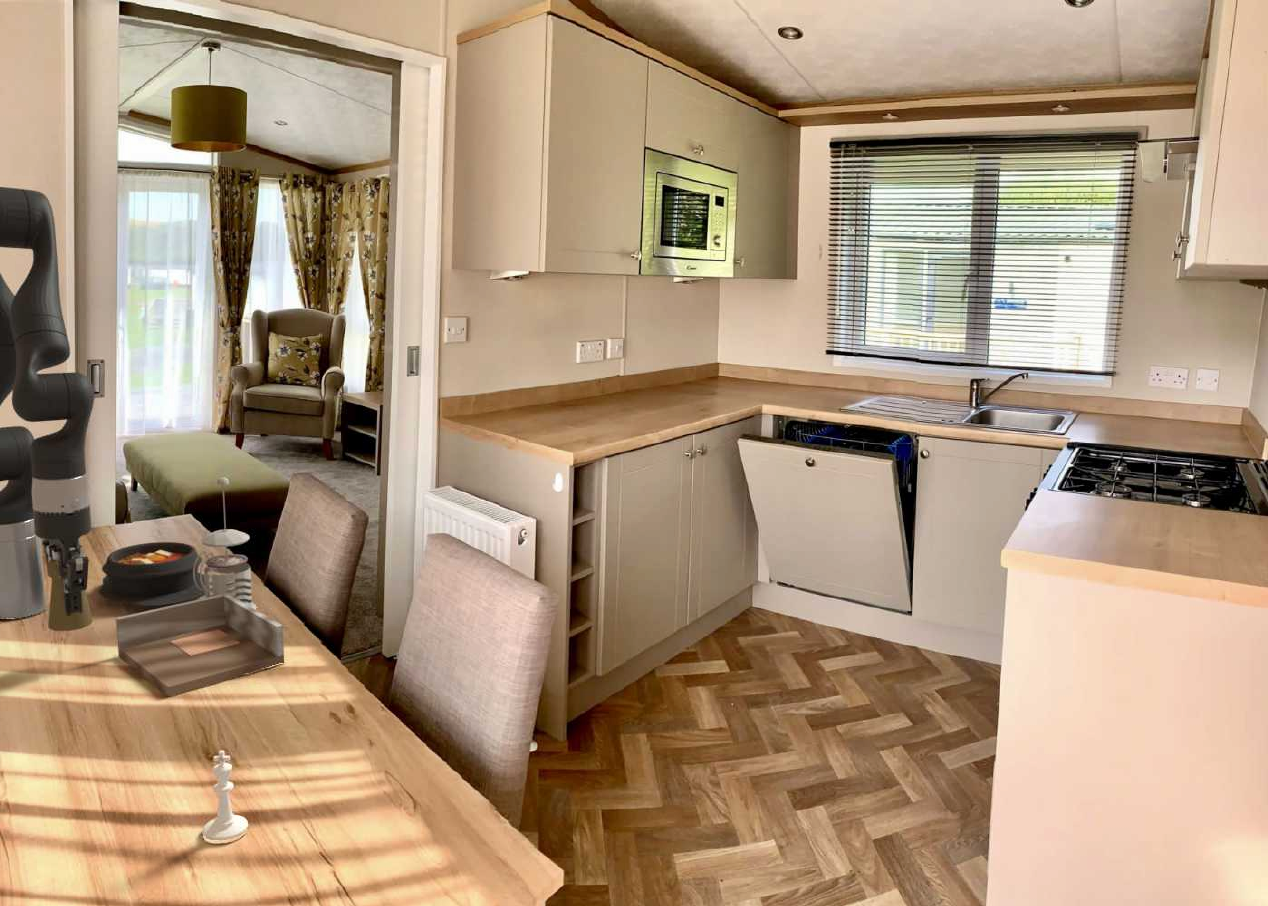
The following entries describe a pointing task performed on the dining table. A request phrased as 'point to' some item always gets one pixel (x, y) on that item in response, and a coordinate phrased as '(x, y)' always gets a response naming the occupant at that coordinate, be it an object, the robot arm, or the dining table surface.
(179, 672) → the board
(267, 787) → the dining table surface
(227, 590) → the french press
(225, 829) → the chess piece
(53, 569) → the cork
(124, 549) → the casserole
